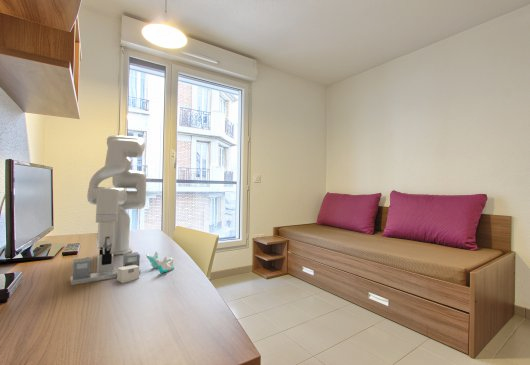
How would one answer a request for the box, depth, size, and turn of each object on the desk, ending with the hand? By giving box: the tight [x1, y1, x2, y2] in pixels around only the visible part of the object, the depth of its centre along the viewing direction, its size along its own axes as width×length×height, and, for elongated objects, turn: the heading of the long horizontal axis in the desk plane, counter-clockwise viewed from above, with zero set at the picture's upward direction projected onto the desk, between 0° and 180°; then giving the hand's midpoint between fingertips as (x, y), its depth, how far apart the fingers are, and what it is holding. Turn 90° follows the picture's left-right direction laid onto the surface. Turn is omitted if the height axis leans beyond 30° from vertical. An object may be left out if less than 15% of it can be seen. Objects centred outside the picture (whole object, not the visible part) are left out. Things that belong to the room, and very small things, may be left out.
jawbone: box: [146, 251, 175, 274], centre depth 109 cm, size 12×8×9 cm, turn 44°
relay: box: [116, 265, 140, 284], centre depth 97 cm, size 4×6×4 cm
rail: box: [70, 251, 142, 286], centre depth 98 cm, size 5×22×8 cm, turn 127°
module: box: [96, 254, 115, 273], centre depth 104 cm, size 5×5×6 cm
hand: (105, 261), depth 104 cm, fingers open, 9 cm apart
